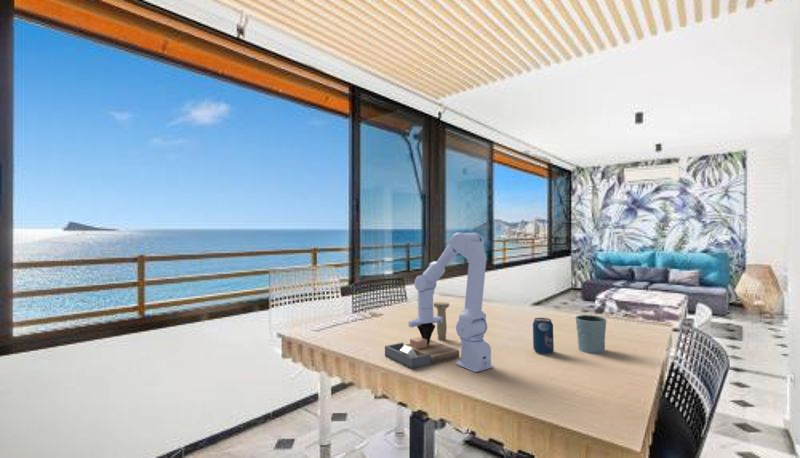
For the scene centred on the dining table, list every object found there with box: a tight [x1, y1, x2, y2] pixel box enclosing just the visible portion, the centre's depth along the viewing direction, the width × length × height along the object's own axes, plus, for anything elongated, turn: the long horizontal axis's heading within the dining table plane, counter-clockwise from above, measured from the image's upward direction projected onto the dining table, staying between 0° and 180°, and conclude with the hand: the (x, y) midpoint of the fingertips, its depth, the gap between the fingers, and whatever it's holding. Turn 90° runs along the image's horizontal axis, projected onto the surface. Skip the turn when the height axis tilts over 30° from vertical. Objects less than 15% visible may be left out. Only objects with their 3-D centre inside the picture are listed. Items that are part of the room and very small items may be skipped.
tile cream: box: [400, 344, 417, 357], centre depth 123 cm, size 4×4×2 cm
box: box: [384, 342, 433, 370], centre depth 126 cm, size 17×8×4 cm, turn 33°
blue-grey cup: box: [575, 314, 607, 355], centre depth 134 cm, size 10×10×12 cm
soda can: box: [532, 317, 555, 356], centre depth 133 cm, size 7×7×12 cm
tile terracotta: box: [409, 336, 427, 349], centre depth 134 cm, size 4×4×2 cm
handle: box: [433, 301, 450, 341], centre depth 152 cm, size 5×6×15 cm
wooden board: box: [405, 339, 460, 365], centre depth 132 cm, size 17×12×2 cm
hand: (426, 343), depth 136 cm, fingers closed
